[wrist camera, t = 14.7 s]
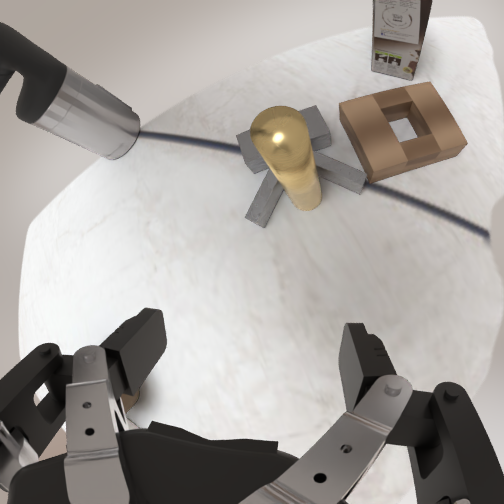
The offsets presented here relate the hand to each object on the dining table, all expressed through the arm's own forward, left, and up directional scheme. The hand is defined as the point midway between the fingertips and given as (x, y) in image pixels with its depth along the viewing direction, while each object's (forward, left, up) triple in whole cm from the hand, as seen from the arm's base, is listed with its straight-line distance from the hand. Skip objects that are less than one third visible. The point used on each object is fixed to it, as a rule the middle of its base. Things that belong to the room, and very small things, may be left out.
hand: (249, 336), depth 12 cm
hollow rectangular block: (-14, +18, -20) cm, 30 cm away
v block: (-14, +4, -20) cm, 25 cm away
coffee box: (-27, +24, -20) cm, 42 cm away
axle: (-11, +4, -20) cm, 23 cm away
